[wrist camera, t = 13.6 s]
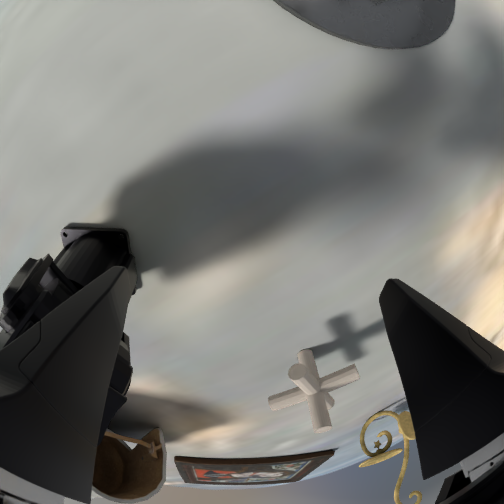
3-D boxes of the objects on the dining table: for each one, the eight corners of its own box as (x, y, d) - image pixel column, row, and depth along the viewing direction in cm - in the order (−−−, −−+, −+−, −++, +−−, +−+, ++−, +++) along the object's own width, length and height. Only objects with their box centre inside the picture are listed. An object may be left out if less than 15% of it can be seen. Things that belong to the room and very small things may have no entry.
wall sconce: (385, 397, 42) (421, 508, 21) (411, 396, 45) (445, 492, 24) (339, 428, 48) (362, 525, 28) (367, 426, 51) (391, 513, 30)
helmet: (86, 375, 33) (55, 416, 42) (62, 481, 18) (41, 480, 27) (185, 418, 41) (122, 446, 50) (185, 512, 25) (117, 507, 35)
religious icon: (300, 475, 81) (301, 481, 78) (185, 477, 76) (184, 483, 73) (338, 446, 60) (340, 455, 57) (171, 451, 55) (171, 461, 52)
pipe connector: (331, 312, 27) (362, 396, 19) (353, 355, 32) (377, 422, 24) (246, 349, 29) (253, 432, 21) (283, 383, 34) (295, 450, 26)
